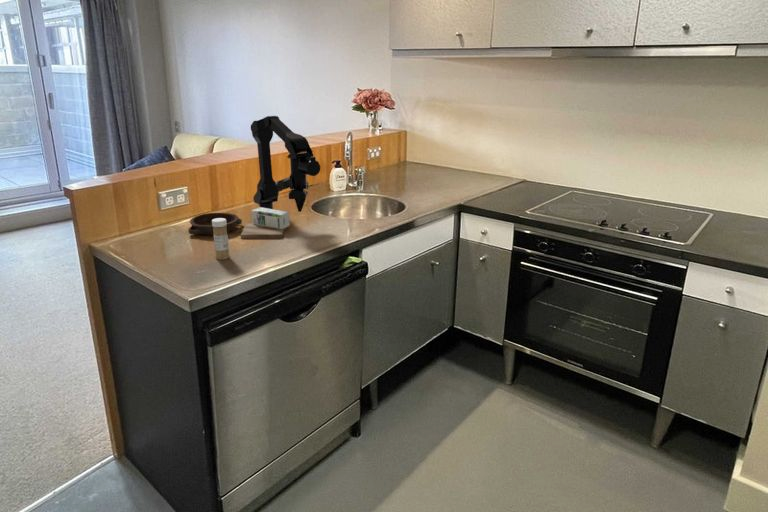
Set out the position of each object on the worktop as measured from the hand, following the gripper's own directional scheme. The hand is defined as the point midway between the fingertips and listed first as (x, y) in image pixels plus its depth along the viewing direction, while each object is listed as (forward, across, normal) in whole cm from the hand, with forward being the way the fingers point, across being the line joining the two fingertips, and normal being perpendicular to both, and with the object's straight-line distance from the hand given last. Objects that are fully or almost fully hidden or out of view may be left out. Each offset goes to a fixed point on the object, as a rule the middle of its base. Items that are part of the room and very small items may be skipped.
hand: (299, 211), depth 202 cm
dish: (+8, -1, -33) cm, 34 cm away
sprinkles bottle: (+8, +29, -24) cm, 38 cm away
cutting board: (+8, +1, -14) cm, 16 cm away
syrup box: (+4, +1, -5) cm, 6 cm away
